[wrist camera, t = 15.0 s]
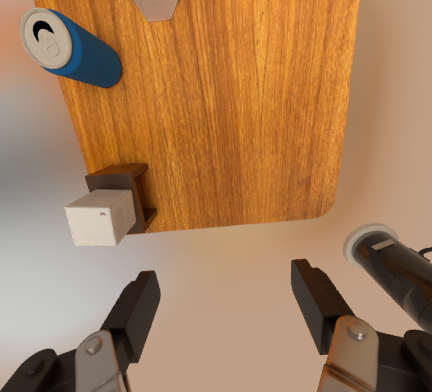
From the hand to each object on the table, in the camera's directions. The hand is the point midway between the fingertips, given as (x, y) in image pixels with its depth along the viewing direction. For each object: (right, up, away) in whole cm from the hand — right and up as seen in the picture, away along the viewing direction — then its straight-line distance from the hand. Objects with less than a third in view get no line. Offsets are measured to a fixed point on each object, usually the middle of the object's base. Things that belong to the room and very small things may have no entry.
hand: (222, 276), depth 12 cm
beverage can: (-19, +26, +22) cm, 39 cm away
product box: (-17, +3, +22) cm, 28 cm away
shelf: (-17, +6, +30) cm, 35 cm away
